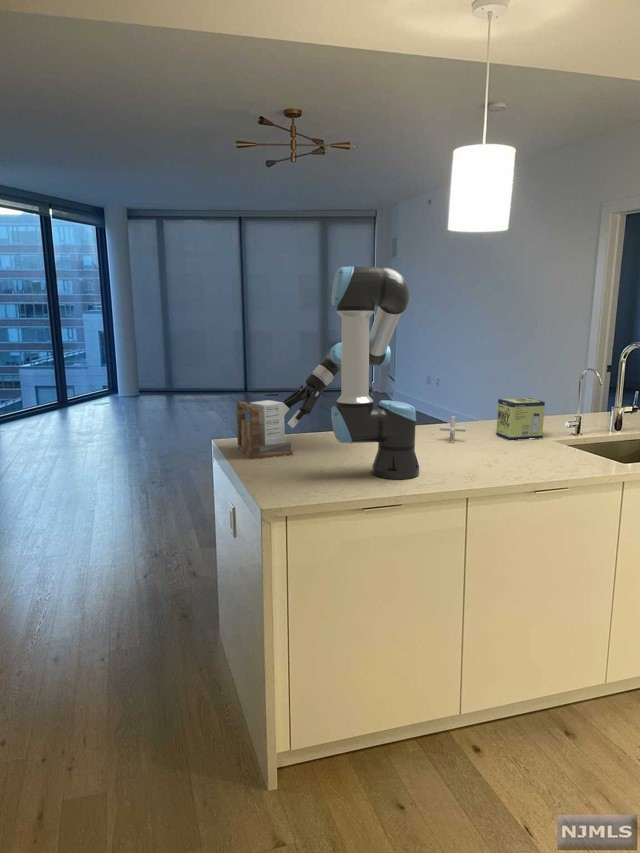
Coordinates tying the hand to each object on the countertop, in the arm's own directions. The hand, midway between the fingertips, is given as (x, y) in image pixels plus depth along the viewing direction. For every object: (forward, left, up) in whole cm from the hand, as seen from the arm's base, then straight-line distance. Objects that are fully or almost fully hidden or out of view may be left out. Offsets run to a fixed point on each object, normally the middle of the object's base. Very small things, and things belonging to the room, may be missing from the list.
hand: (282, 422), depth 223 cm
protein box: (-19, -97, -11) cm, 99 cm away
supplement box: (0, +6, -9) cm, 11 cm away
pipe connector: (-14, -67, -11) cm, 69 cm away
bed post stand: (0, +7, -10) cm, 13 cm away
